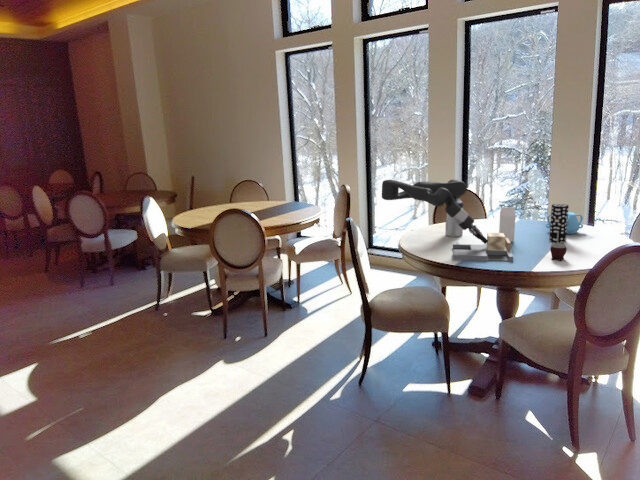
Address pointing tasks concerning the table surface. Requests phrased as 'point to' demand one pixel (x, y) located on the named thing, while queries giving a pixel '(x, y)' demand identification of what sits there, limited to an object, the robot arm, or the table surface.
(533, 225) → the table surface
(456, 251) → the trap deck
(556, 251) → the mate gourd
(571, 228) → the decorative pot
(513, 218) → the milk carton
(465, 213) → the robot arm
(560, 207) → the white-spotted black cylinder
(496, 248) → the beech block
